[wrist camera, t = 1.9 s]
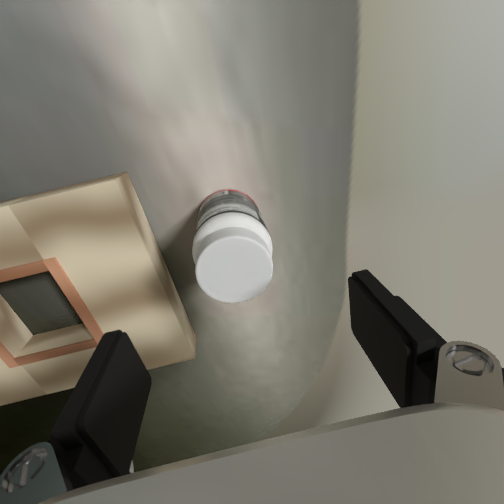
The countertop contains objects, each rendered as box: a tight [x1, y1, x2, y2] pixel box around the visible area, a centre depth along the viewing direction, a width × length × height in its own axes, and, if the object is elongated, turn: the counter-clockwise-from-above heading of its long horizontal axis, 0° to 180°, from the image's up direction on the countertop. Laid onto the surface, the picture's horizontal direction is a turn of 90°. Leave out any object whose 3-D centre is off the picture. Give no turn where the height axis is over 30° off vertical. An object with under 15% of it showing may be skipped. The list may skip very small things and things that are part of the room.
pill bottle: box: [192, 189, 273, 303], centre depth 18 cm, size 5×5×8 cm
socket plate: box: [0, 172, 196, 406], centre depth 22 cm, size 16×20×3 cm
